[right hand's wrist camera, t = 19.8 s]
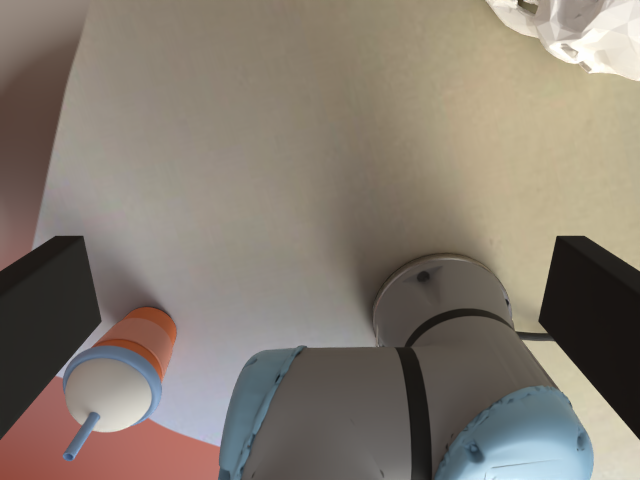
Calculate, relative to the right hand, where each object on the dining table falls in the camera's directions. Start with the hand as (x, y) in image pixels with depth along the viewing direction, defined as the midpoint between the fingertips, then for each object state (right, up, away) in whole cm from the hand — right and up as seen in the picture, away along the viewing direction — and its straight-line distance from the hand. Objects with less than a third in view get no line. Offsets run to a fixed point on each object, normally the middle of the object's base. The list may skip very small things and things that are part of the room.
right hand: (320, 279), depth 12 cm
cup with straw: (-20, -9, +39) cm, 45 cm away
